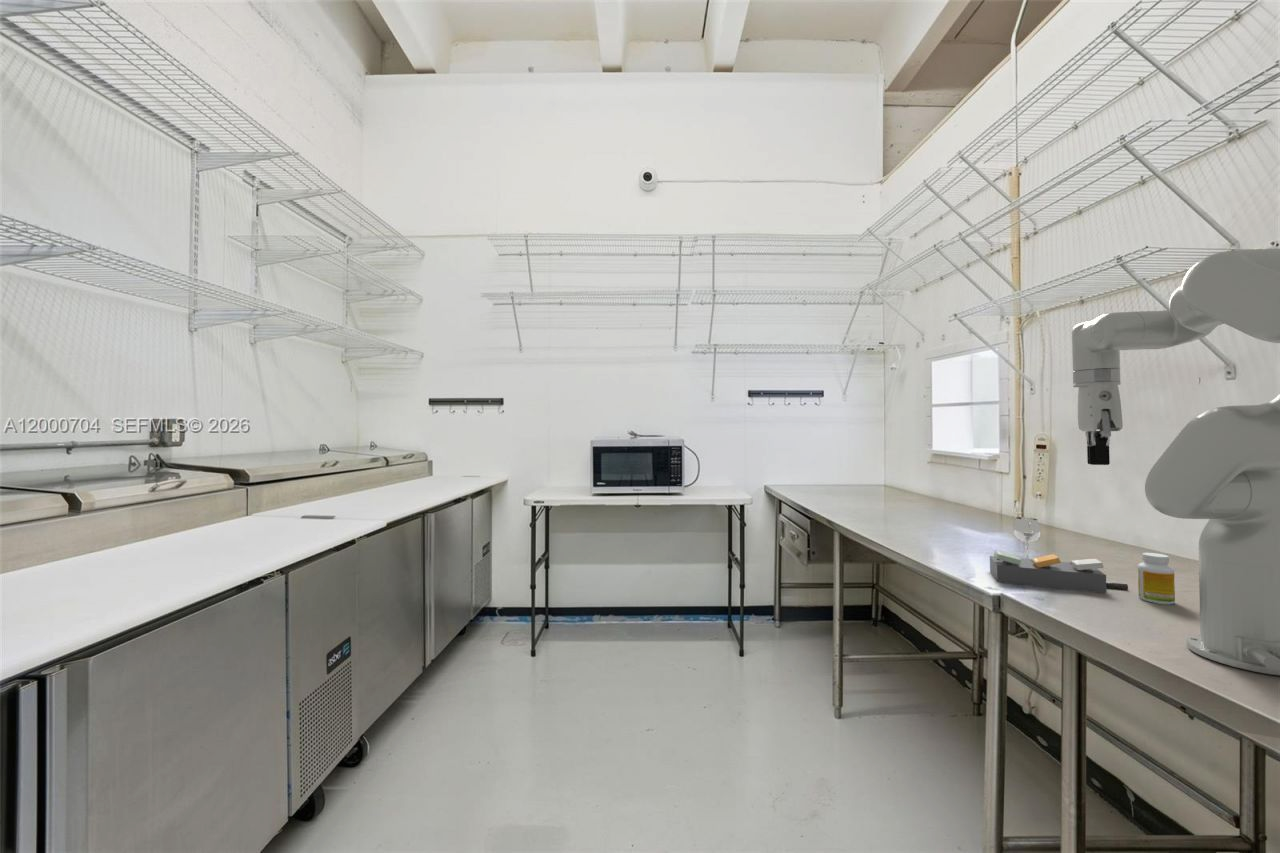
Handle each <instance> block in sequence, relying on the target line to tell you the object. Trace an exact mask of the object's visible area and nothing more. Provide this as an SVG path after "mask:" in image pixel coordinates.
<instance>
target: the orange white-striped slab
mask: <svg viewBox="0 0 1280 853" xmlns="http://www.w3.org/2000/svg"><path fill="white" fill-rule="evenodd" d="M1031 559H1032V561H1033V564H1034V565H1035V566H1036V567H1038V568H1040V567H1044V566H1049V565H1053V564H1058V563H1061V562H1062V561H1061V560H1060V558H1059V556H1057V555H1056V554H1054V553H1053V554H1047V555H1043V556H1038V557H1034V558H1031Z"/></svg>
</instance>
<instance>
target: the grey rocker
mask: <svg viewBox="0 0 1280 853" xmlns="http://www.w3.org/2000/svg"><path fill="white" fill-rule="evenodd" d="M1070 562H1071V563H1072V566H1073V567H1075V568H1076V569H1077V570H1085V569H1104V565H1103V562H1101V560H1099V559H1098V558H1086V559H1085V558H1084V559H1075V560H1070Z"/></svg>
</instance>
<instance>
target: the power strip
mask: <svg viewBox="0 0 1280 853" xmlns="http://www.w3.org/2000/svg"><path fill="white" fill-rule="evenodd" d="M1018 558H1019V559H1020V560H1021V562H1020V565H1018V564H1014V563H1010V562H1007V561H1003V560H999V559H996V557H995V556H994V555H989V572H990V573H991V575H992V576H993V578H994V579H995V580H996V583H1003V584H1004V583H1005V584H1013V585H1015V584H1016V585H1025V586H1034V587H1041V588H1042V587H1044V588H1045V587H1046V588H1054V589H1063V590H1074V591H1084V592H1093V593H1102V594H1107V589H1115V590H1116V589H1118V590H1126V591H1127V590H1129V586H1128V584H1127V583H1120V582H1109V581H1107V574H1105V573H1104V572H1102V571H1101V570H1099V568H1097V569H1085V570H1077V569H1076V568H1075V567H1073V566H1072V563H1071V561H1070V562H1067V561H1060V562H1061V563H1058V564H1053V565H1049V566H1044V567H1040V568H1038V567H1036V566H1035V565H1034V564H1033V561H1032V559H1033V558H1029V559H1026V558H1020V557H1018Z"/></svg>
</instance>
